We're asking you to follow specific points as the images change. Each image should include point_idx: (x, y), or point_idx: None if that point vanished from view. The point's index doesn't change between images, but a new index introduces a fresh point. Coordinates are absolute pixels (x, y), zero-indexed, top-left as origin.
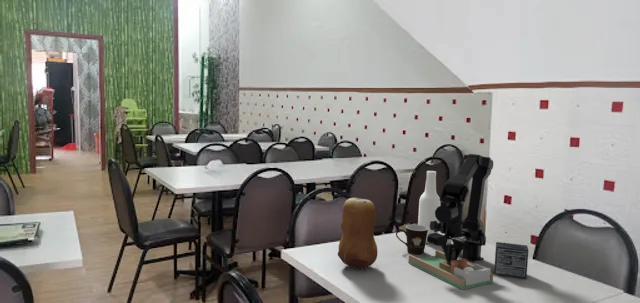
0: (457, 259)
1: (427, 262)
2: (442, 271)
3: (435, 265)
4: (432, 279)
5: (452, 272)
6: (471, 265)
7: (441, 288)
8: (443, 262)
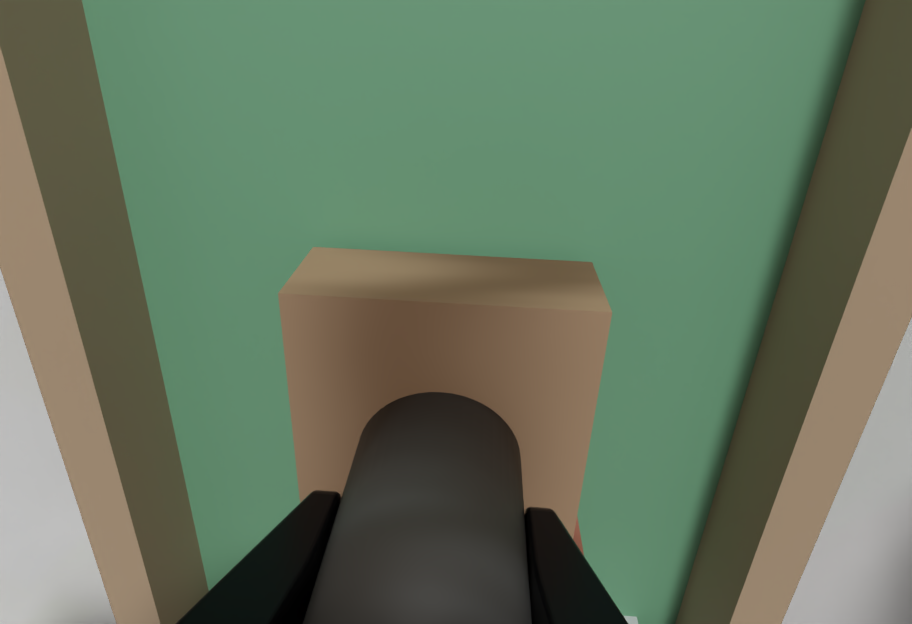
0: (867, 306)
1: (18, 126)
2: (99, 549)
3: (367, 69)
4: (38, 401)
5: None
6: (747, 610)
7: (17, 597)
8: (358, 339)
